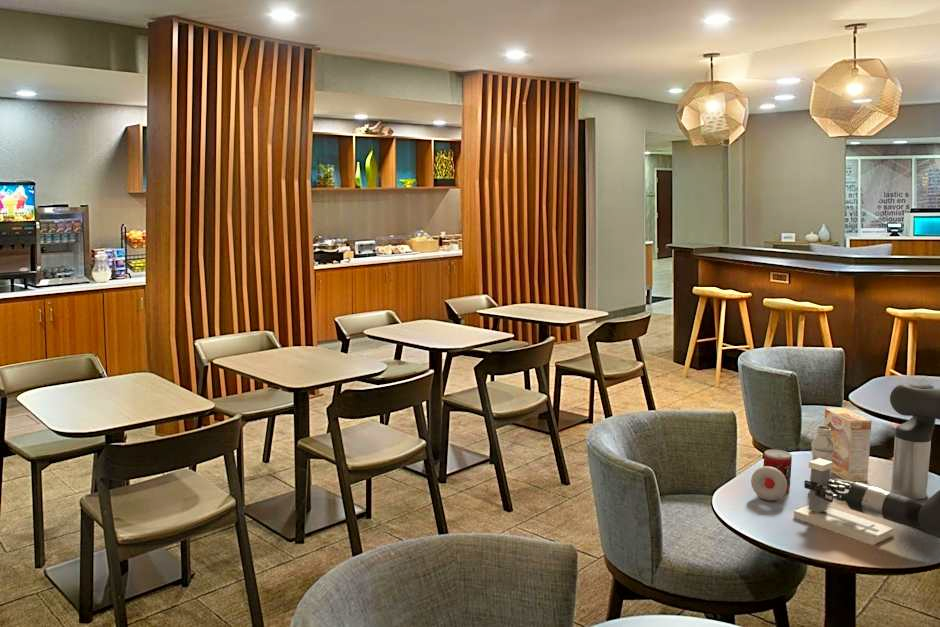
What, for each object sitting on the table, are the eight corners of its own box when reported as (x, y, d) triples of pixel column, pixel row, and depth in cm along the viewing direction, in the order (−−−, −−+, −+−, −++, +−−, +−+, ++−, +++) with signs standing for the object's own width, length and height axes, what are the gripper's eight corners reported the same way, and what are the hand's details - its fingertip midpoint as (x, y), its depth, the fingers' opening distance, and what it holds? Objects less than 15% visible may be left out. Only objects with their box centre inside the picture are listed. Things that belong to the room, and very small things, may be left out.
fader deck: (814, 509, 228) (814, 502, 228) (892, 535, 211) (893, 527, 210) (793, 517, 222) (794, 510, 222) (872, 545, 205) (873, 537, 205)
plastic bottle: (827, 489, 244) (831, 424, 241) (835, 497, 237) (839, 431, 234) (805, 488, 244) (809, 424, 241) (812, 497, 238) (816, 430, 235)
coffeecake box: (820, 466, 264) (824, 408, 262) (841, 465, 265) (845, 407, 262) (846, 482, 250) (850, 420, 247) (868, 481, 250) (872, 420, 248)
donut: (787, 501, 234) (789, 468, 233) (784, 505, 231) (786, 471, 230) (751, 494, 240) (753, 462, 238) (748, 498, 237) (750, 465, 235)
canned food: (777, 495, 239) (779, 459, 238) (756, 486, 246) (758, 451, 245) (795, 490, 243) (797, 455, 241) (774, 482, 250) (776, 447, 248)
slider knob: (816, 505, 225) (819, 458, 223) (829, 509, 222) (833, 461, 220) (806, 509, 222) (808, 461, 220) (819, 514, 219) (822, 465, 217)
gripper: (886, 480, 213) (824, 463, 227) (857, 492, 205) (795, 474, 218) (884, 508, 214) (823, 489, 228) (855, 521, 206) (794, 500, 219)
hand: (810, 482), depth 223 cm, fingers closed on slider knob, 4 cm apart
